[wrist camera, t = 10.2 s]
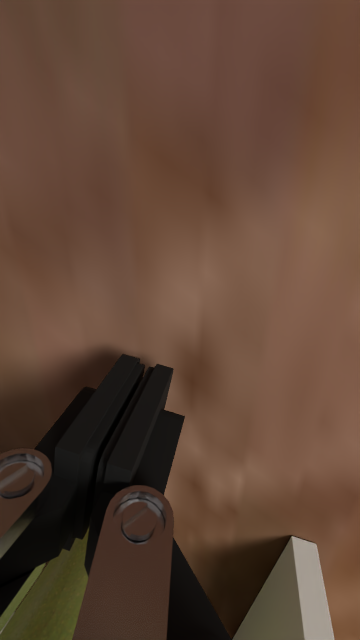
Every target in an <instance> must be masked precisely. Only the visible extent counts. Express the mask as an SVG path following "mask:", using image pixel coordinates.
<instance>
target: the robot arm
mask: <svg viewBox="0 0 360 640" xmlns="http://www.w3.org/2000/svg"><path fill="white" fill-rule="evenodd" d="M144 368H145V365H143V364H140V359H139V358H135V357H132V356H128V355H125V354H122V355H121V357H120V358H119V359H118V361H117V362H116V364H115V365H114V366H113V368H112V369H111V370H110V372H109V373H108V375H107V376H106V377H105V379H104V380H103V381H102V383H101V384H100V386H99V387H98V388H97V390H96V389H93V388H89V387H84V388H83V389H82V390H81V391H80V392H79V394H78V395H77V396H76V398H75V399H74V400H73V401H72V403H71V404H70V405H69V406H68V408H67V409H66V410H65V411H64V413H63V414H62V415H61V416H60V418H59V419H58V420H57V421H56V423H55V424H54V425H53V426H52V428H51V429H50V430H49V431H48V433H47V434H46V435H45V436H44V438H43V439H42V440H41V441H40V443H39V444H38V445H37V446H36V448H35V449H29V448H19V449H13V450H9V451H7V452H4V453H2V454H0V632H1V630H2V629H3V627H4V626H5V624H6V623H7V621H8V620H9V619H10V617H11V616H12V614H13V613H14V611H15V610H16V608H17V607H18V605H19V604H20V603H21V601H22V600H23V598H24V597H25V595H26V594H27V592H28V591H29V589H30V588H31V587H32V585H33V584H34V582H35V581H36V579H37V578H38V576H39V575H40V573H41V572H42V570H43V568H44V566H45V564H46V562H48V561H50V560H52V559H54V558H56V557H58V556H59V555H60V553H61V551H62V549H65V550H68V551H70V549H71V547H72V545H73V543H74V541H75V539H76V538H78V539H81V540H82V539H83V538H84V536H85V534H86V532H87V530H88V528H89V532H88V540H87V547H86V554H85V562H84V566H85V569H86V572H87V575H88V581H87V585H86V589H85V593H84V596H83V600H82V604H81V608H80V611H79V615H78V619H77V623H76V627H75V630H74V634H73V638H72V640H231V638H230V636H229V634H228V633H227V631H226V629H225V627H224V626H223V624H222V622H221V620H220V619H219V617H218V615H217V613H216V612H215V610H214V608H213V606H212V605H211V603H210V601H209V599H208V598H207V596H206V594H205V592H204V591H203V589H202V587H201V585H200V583H199V582H198V580H197V578H196V576H195V575H194V573H193V571H192V569H191V568H190V566H189V564H188V562H187V561H186V559H185V557H184V555H183V554H182V552H181V550H180V548H179V547H178V545H177V543H176V541H175V540H174V538H173V528H174V517H173V510H172V508H171V506H170V503H169V501H168V500H167V499H166V498H165V497H164V492H165V488H166V484H167V481H168V477H169V473H170V470H171V466H172V462H173V459H174V455H175V451H176V447H177V444H178V440H179V436H180V433H181V429H182V425H183V422H184V418H185V416H182V415H179V414H176V413H173V412H169V411H166V410H164V408H165V404H166V400H167V395H168V391H169V387H170V383H171V378H172V374H173V368H170V367H166V366H163V365H160V364H156V366H155V368H153V367H150V366H149V367H148V369H147V371H146V373H145V375H144V377H143V373H144Z"/></svg>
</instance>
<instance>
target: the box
mask: <svg viewBox="0 0 360 640" xmlns="http://www.w3.org/2000/svg"><path fill="white" fill-rule="evenodd" d="M14 613H15V612H14ZM14 613H13V614H12V616H13V615H14ZM12 616H11V617H12ZM11 617H10V619H11ZM10 619H9V620H10ZM9 620H8V621H7V623H8V622H9ZM7 623H6V624H5V626H6V625H7ZM5 626H4V627H3V629H4V628H5ZM3 629H2V630H1V632H2V631H3ZM1 632H0V634H1ZM232 640H334V634H333V629H332V624H331V619H330V613H329V608H328V603H327V598H326V592H325V587H324V582H323V577H322V571H321V566H320V561H319V555H318V550H317V545H316V544H315V543H312V542H309V541H306V540H303V539H300V538H296V537H293V536H292V537H291V538H290V540H289V542H288V543H287V545H286V547H285V549H284V550H283V552H282V554H281V556H280V557H279V559H278V561H277V563H276V564H275V566H274V568H273V570H272V571H271V573H270V575H269V577H268V578H267V580H266V582H265V583H264V585H263V587H262V589H261V590H260V592H259V594H258V596H257V597H256V599H255V601H254V603H253V604H252V606H251V608H250V610H249V611H248V613H247V615H246V616H245V618H244V620H243V622H242V623H241V625H240V627H239V629H238V630H237V632H236V634H235V636H234V637H233V639H232Z"/></svg>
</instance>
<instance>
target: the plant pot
mask: <svg viewBox="0 0 360 640" xmlns="http://www.w3.org/2000/svg"><path fill="white" fill-rule="evenodd" d="M88 532H89V528H88V530H87V532H86V534H85V536H84V538H83V539H82V540H81V539H78V538H76V539H75V541H74V543H73V545H72V547H71V549H70V551H68V550H65V549H62V551H61V553H60V555H59V556H58V557H56V558H54V559H52V560H50V561H49V563H48V564H47V566H46V567H45V569H44V570H43V572H42V573H41V575H40V576H39V578H38V579H37V581H36V582H35V584H34V585H33V587H32V588H31V590H30V591H29V593H28V594H27V596H26V597H25V599H24V600H23V602H22V603H21V604H20V606H19V607H18V609H17V610H16V612H15V613H14V615H13V616H12V617H11V619H10V620H9V622H8V623H7V625H6V626H5V628H4V629H3V631H2V632H1V634H0V640H72V638H73V634H74V630H75V627H76V623H77V619H78V615H79V611H80V608H81V604H82V600H83V596H84V593H85V589H86V585H87V581H88V575H87V572H86V569H85V566H84V562H85V554H86V547H87V540H88Z"/></svg>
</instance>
